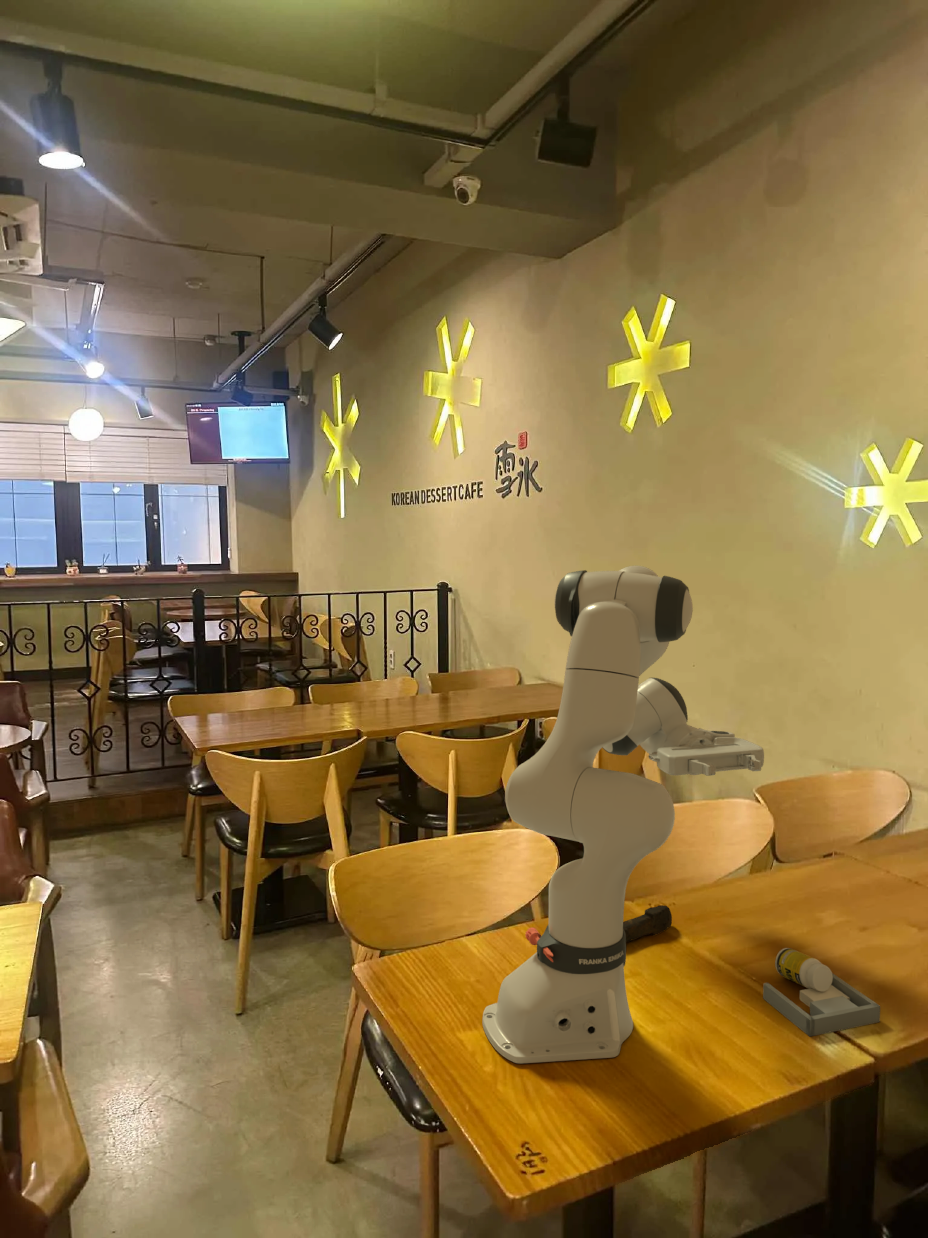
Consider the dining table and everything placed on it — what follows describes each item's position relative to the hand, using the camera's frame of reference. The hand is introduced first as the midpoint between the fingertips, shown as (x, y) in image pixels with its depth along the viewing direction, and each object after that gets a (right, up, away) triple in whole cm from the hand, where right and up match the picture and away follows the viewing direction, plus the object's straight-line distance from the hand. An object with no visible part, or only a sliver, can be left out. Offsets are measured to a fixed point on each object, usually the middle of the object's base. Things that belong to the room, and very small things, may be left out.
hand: (735, 769), depth 147 cm
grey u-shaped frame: (+7, -34, -19) cm, 39 cm away
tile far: (+8, -34, -17) cm, 39 cm away
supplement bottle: (+5, -31, -9) cm, 32 cm away
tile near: (+8, -34, -21) cm, 41 cm away
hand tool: (-17, -32, +5) cm, 37 cm away
